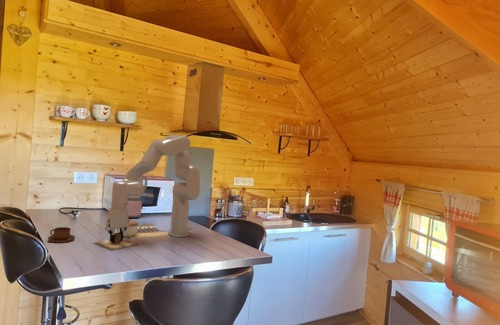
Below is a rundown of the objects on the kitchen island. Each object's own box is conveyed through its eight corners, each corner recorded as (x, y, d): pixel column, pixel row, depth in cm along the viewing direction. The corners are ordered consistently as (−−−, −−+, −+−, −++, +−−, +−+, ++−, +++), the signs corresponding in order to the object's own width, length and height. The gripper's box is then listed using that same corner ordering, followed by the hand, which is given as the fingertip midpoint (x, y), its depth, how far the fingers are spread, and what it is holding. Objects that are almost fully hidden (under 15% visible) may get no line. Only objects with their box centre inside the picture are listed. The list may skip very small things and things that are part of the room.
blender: (126, 219, 233) (130, 172, 232) (119, 216, 241) (122, 170, 240) (148, 218, 243) (151, 173, 242) (140, 214, 252) (144, 171, 251)
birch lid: (119, 238, 184) (120, 229, 184) (136, 244, 177) (137, 234, 176) (95, 243, 173) (96, 233, 172) (112, 249, 165) (113, 239, 165)
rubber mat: (119, 239, 186) (119, 238, 186) (139, 245, 177) (139, 244, 177) (92, 244, 172) (92, 243, 172) (111, 251, 164) (111, 250, 164)
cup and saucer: (44, 244, 166) (45, 231, 166) (51, 237, 178) (52, 225, 177) (71, 244, 169) (72, 232, 169) (77, 238, 181) (77, 226, 181)
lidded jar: (130, 239, 187) (132, 222, 187) (113, 236, 189) (114, 219, 189) (140, 235, 197) (142, 218, 197) (123, 232, 199) (125, 216, 199)
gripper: (128, 203, 183) (125, 237, 184) (99, 205, 169) (96, 242, 170) (137, 205, 179) (134, 240, 179) (108, 208, 165) (105, 246, 165)
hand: (116, 241), depth 175 cm, fingers closed on birch lid, 4 cm apart
